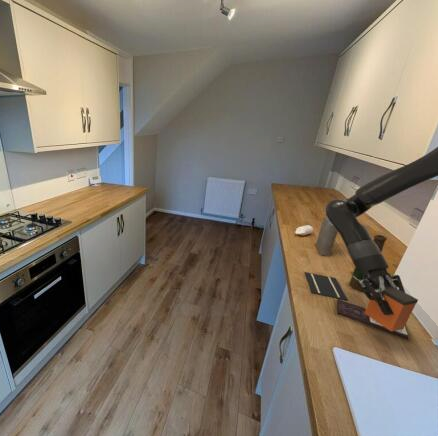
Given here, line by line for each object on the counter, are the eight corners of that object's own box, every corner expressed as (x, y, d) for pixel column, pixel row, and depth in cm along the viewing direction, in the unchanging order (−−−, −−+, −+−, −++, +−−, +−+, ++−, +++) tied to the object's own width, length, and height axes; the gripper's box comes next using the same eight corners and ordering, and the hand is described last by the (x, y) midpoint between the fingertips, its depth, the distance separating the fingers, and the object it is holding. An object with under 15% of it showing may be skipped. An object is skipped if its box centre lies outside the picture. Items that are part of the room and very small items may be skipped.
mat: (335, 278, 106) (335, 277, 106) (347, 300, 92) (348, 299, 92) (304, 272, 110) (304, 271, 110) (311, 292, 97) (311, 291, 96)
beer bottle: (344, 283, 103) (362, 232, 95) (359, 281, 104) (378, 231, 96) (362, 294, 96) (383, 241, 88) (378, 292, 97) (400, 239, 89)
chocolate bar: (338, 299, 92) (402, 321, 82) (337, 301, 92) (401, 323, 82) (337, 312, 85) (408, 337, 75) (337, 314, 86) (407, 339, 76)
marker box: (375, 311, 76) (387, 283, 72) (403, 329, 69) (418, 299, 65) (363, 313, 75) (375, 285, 71) (391, 331, 68) (405, 302, 64)
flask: (332, 257, 124) (344, 222, 117) (319, 254, 127) (330, 220, 119) (326, 245, 137) (337, 213, 130) (315, 243, 139) (324, 211, 132)
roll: (302, 230, 144) (300, 238, 146) (314, 227, 149) (312, 235, 151) (293, 226, 149) (291, 234, 151) (304, 223, 154) (302, 231, 156)
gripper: (359, 255, 70) (391, 316, 64) (396, 250, 73) (430, 308, 66) (337, 261, 77) (363, 317, 70) (371, 257, 80) (400, 310, 73)
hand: (396, 313), depth 68 cm, fingers closed on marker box, 4 cm apart
